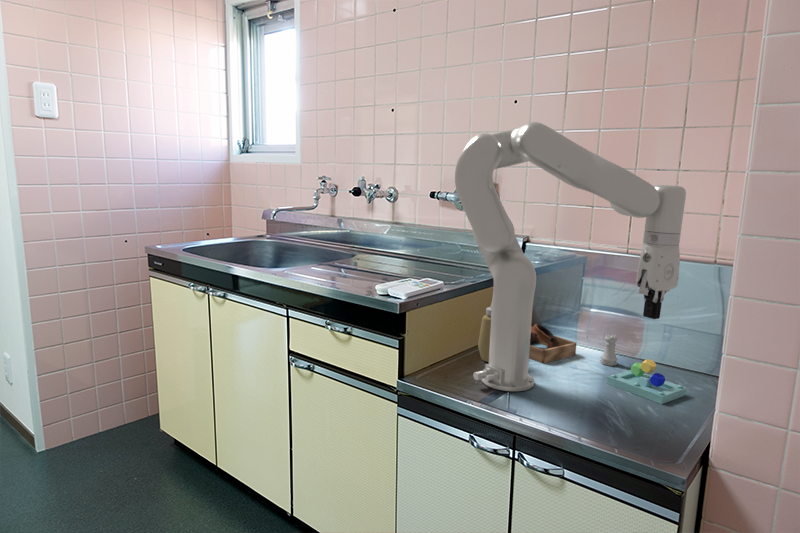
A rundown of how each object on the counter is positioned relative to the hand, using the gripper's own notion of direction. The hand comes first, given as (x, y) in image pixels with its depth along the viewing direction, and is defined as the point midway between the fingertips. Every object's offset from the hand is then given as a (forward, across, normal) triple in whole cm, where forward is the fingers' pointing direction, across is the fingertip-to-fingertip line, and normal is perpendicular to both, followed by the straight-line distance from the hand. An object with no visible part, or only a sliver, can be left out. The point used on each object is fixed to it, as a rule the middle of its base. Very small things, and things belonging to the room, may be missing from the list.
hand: (651, 317), depth 126 cm
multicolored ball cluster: (+17, +1, -1) cm, 17 cm away
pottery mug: (+18, 0, +35) cm, 39 cm away
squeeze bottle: (+19, -17, +34) cm, 42 cm away
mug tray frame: (+18, 0, +32) cm, 37 cm away
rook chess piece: (+18, +9, +16) cm, 25 cm away
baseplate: (+18, +1, 0) cm, 18 cm away
